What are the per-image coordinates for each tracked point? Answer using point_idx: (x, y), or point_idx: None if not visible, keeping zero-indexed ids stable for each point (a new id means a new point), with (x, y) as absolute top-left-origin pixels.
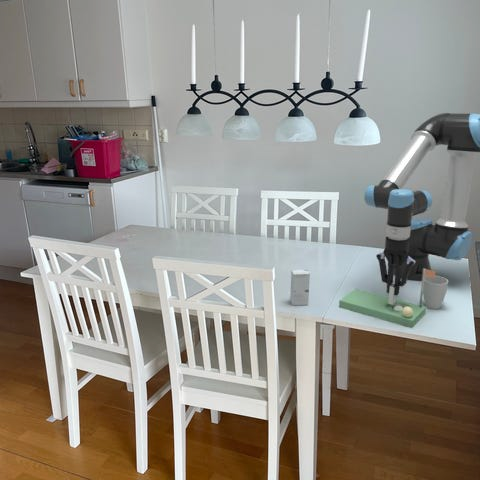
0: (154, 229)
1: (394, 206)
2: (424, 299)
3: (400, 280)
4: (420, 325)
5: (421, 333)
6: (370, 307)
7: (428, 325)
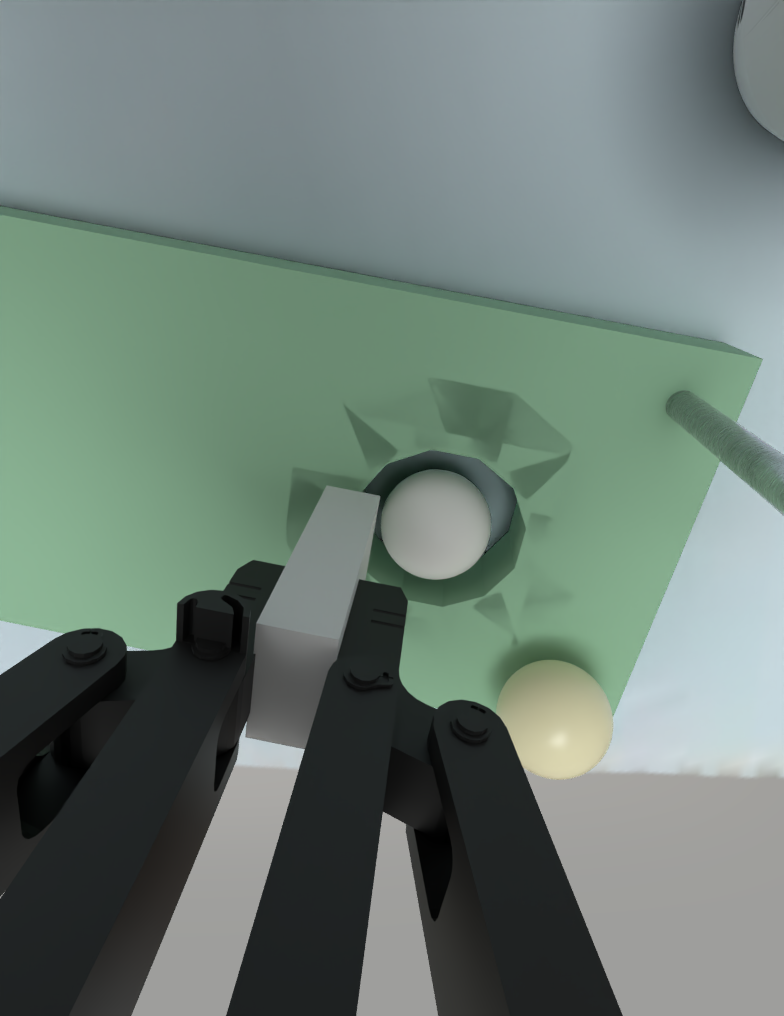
0: None
1: None
2: (757, 96)
3: (388, 753)
4: (662, 627)
5: (669, 746)
6: (175, 628)
7: (737, 602)
